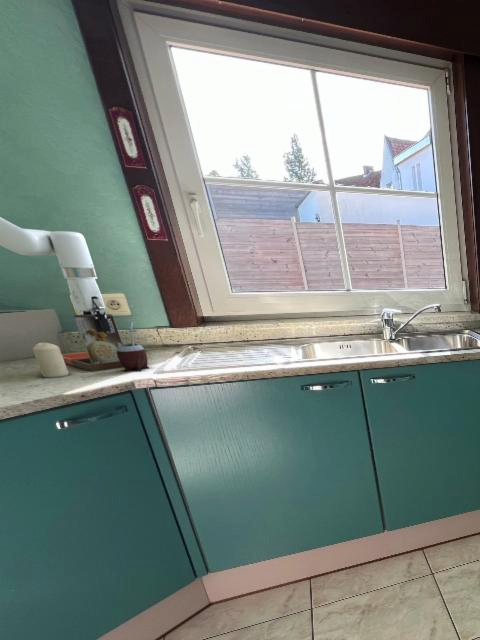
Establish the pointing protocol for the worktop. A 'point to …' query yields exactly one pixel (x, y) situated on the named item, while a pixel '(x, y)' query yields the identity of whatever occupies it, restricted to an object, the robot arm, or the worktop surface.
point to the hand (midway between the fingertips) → (98, 330)
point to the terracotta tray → (74, 357)
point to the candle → (50, 360)
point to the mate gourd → (132, 355)
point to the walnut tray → (96, 365)
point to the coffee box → (99, 339)
